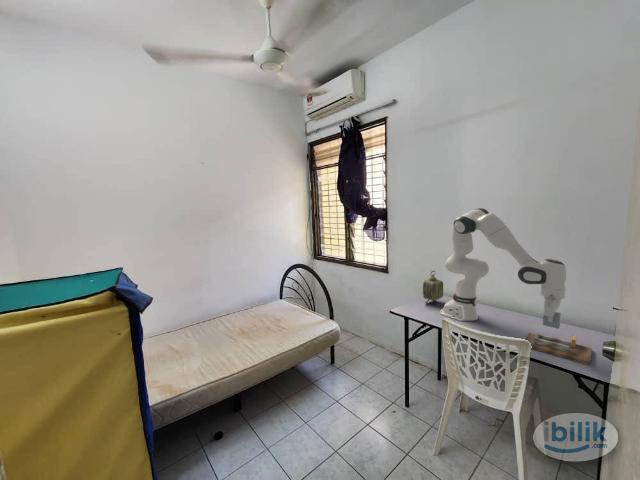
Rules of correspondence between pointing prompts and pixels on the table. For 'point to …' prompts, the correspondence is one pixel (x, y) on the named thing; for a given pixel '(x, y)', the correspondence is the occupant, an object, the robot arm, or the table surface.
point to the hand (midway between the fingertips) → (551, 319)
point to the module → (555, 321)
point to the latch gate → (573, 341)
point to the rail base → (560, 348)
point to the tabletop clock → (432, 289)
